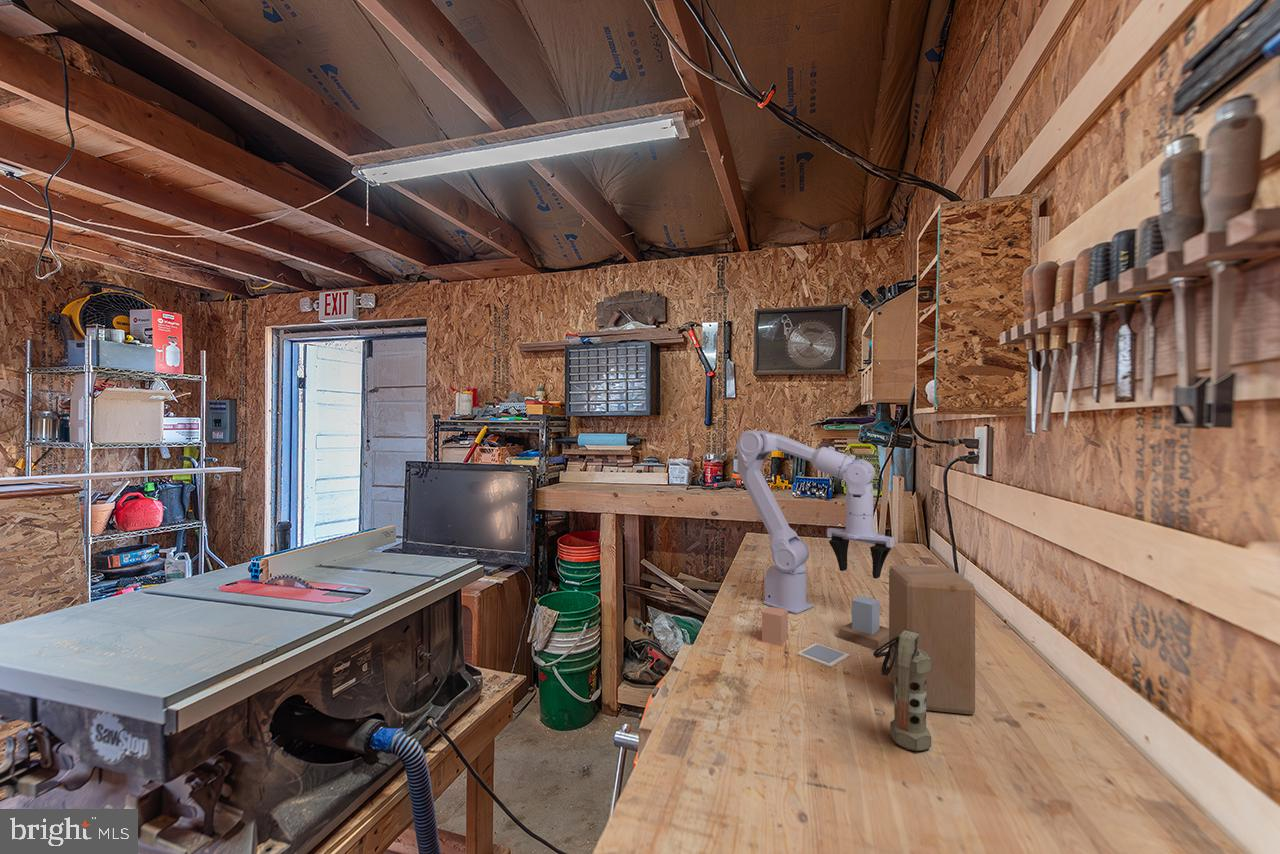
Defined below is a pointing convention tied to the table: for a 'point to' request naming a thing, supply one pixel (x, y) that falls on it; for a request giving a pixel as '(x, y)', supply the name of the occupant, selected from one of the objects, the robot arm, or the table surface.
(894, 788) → the table surface
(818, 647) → the tile
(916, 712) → the grenade model
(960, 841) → the table surface
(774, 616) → the terracotta block
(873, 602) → the blue block
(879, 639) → the walnut slab
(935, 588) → the wooden block
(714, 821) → the table surface
